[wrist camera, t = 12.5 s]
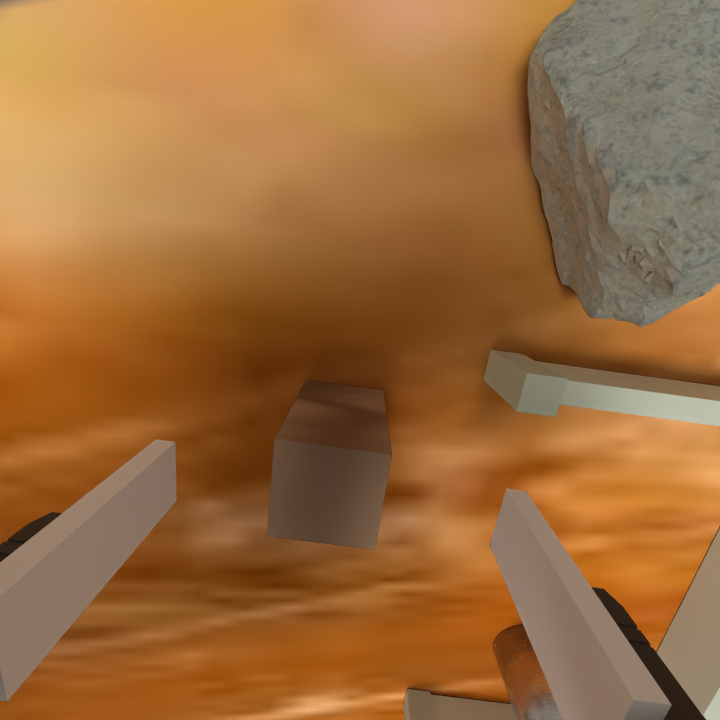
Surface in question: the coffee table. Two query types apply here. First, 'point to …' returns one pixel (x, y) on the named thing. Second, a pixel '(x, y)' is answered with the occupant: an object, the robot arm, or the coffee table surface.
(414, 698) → the bay
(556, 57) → the decorative stone
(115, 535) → the robot arm
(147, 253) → the coffee table surface
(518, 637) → the metal cylinder
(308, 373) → the coffee table surface
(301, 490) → the walnut block
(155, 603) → the coffee table surface
